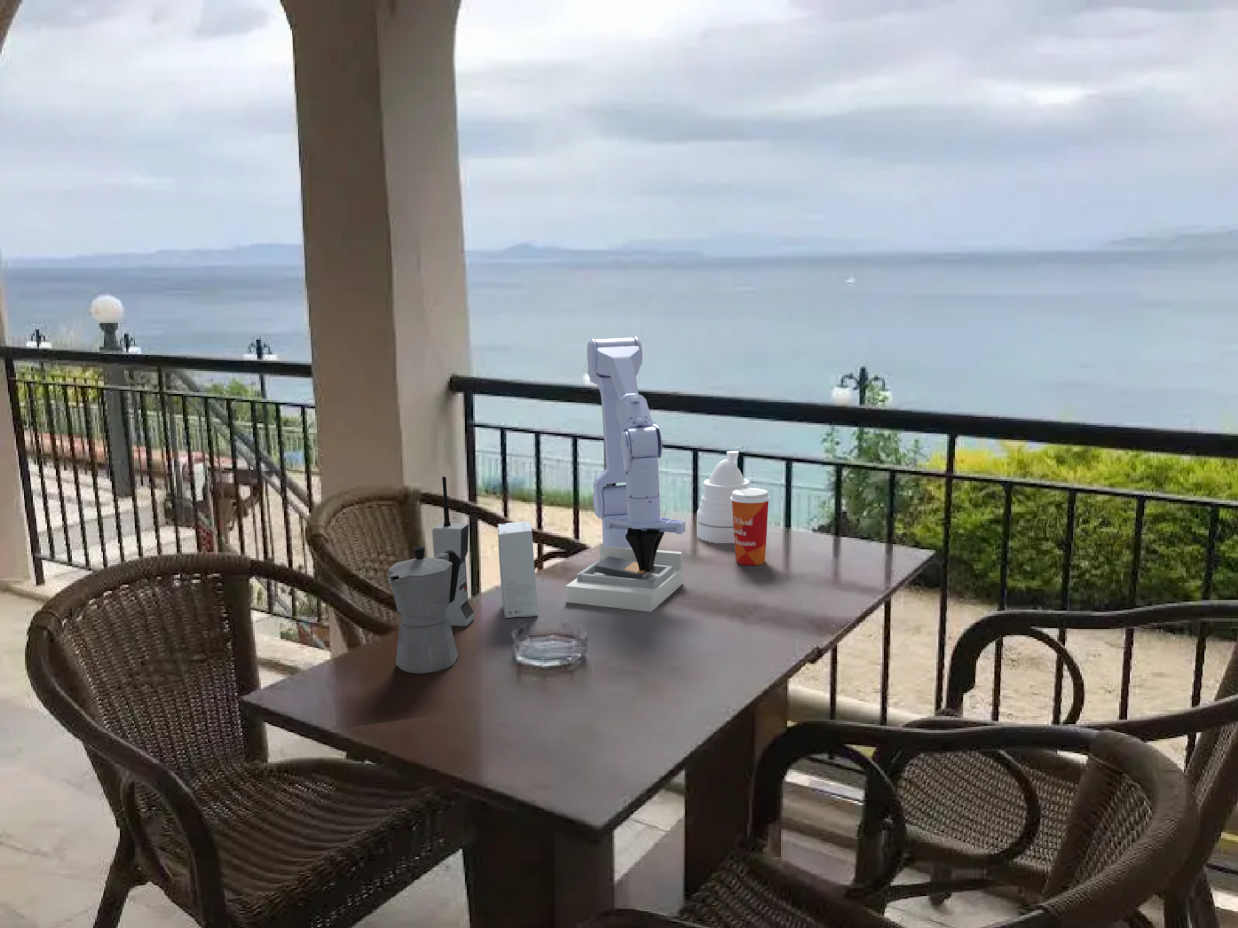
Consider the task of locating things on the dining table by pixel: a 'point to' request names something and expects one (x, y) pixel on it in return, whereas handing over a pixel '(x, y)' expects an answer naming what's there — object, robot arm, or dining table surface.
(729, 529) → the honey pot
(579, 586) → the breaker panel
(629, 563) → the block
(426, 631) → the coffeepot
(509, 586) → the skincare box
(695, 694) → the dining table surface
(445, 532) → the vintage mobile phone
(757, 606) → the dining table surface
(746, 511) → the paper cup
